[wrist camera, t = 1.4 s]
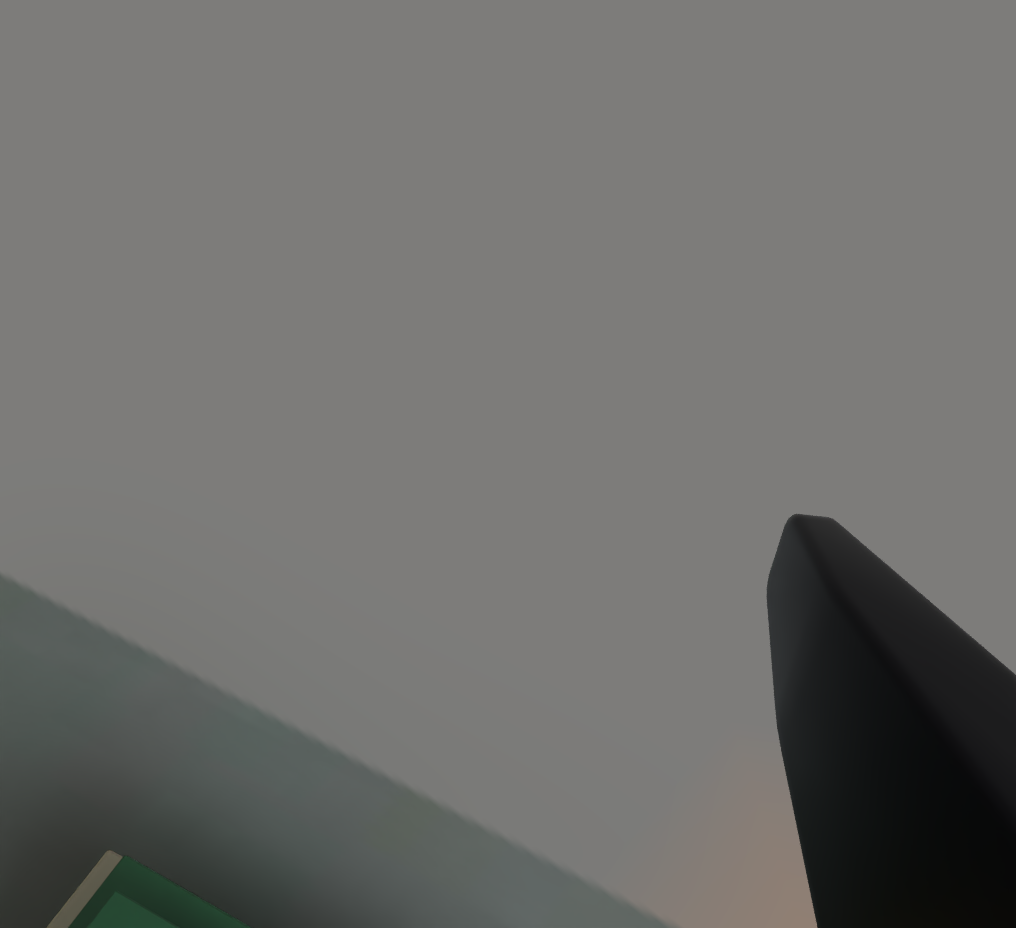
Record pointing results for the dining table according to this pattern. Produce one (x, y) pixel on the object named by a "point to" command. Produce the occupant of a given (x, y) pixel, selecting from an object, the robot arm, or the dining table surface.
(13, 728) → the dining table surface
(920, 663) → the robot arm
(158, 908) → the stack of green books
